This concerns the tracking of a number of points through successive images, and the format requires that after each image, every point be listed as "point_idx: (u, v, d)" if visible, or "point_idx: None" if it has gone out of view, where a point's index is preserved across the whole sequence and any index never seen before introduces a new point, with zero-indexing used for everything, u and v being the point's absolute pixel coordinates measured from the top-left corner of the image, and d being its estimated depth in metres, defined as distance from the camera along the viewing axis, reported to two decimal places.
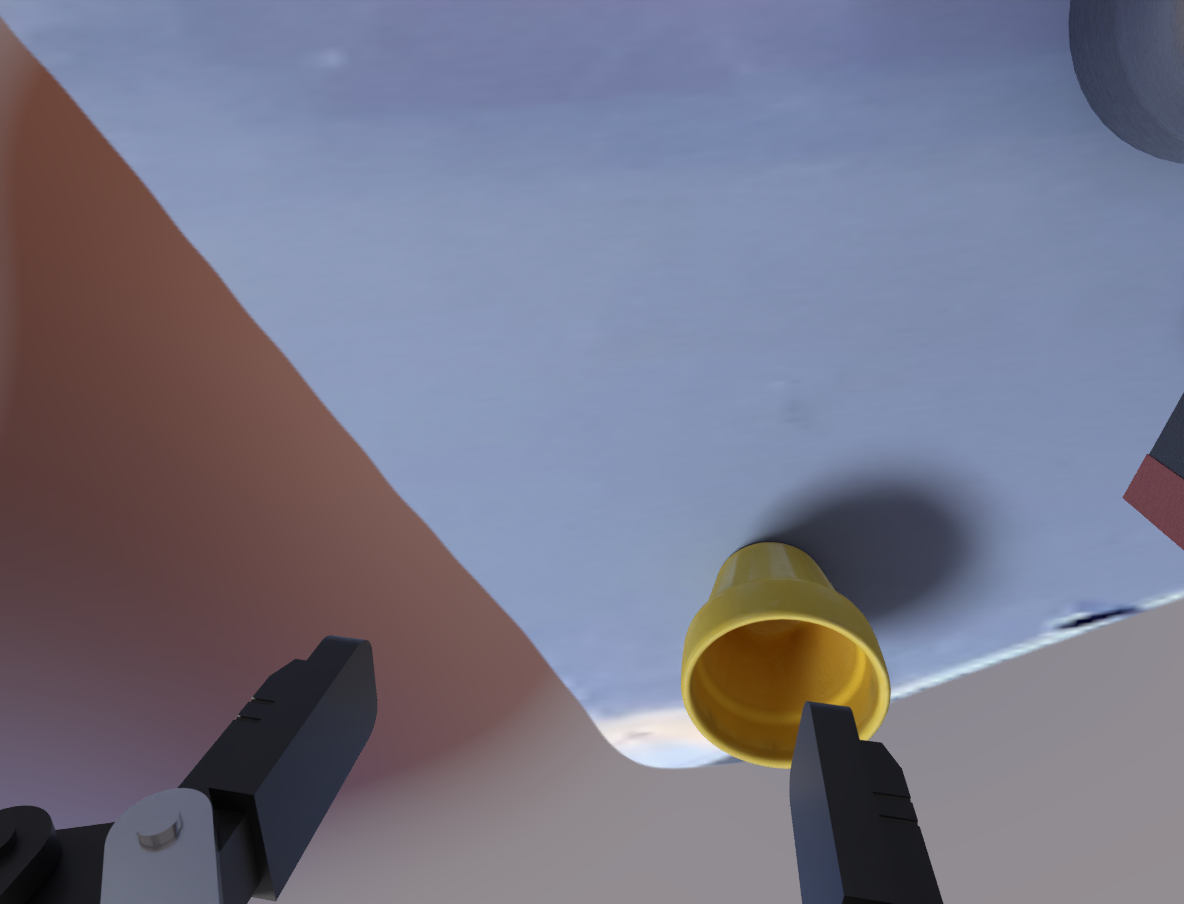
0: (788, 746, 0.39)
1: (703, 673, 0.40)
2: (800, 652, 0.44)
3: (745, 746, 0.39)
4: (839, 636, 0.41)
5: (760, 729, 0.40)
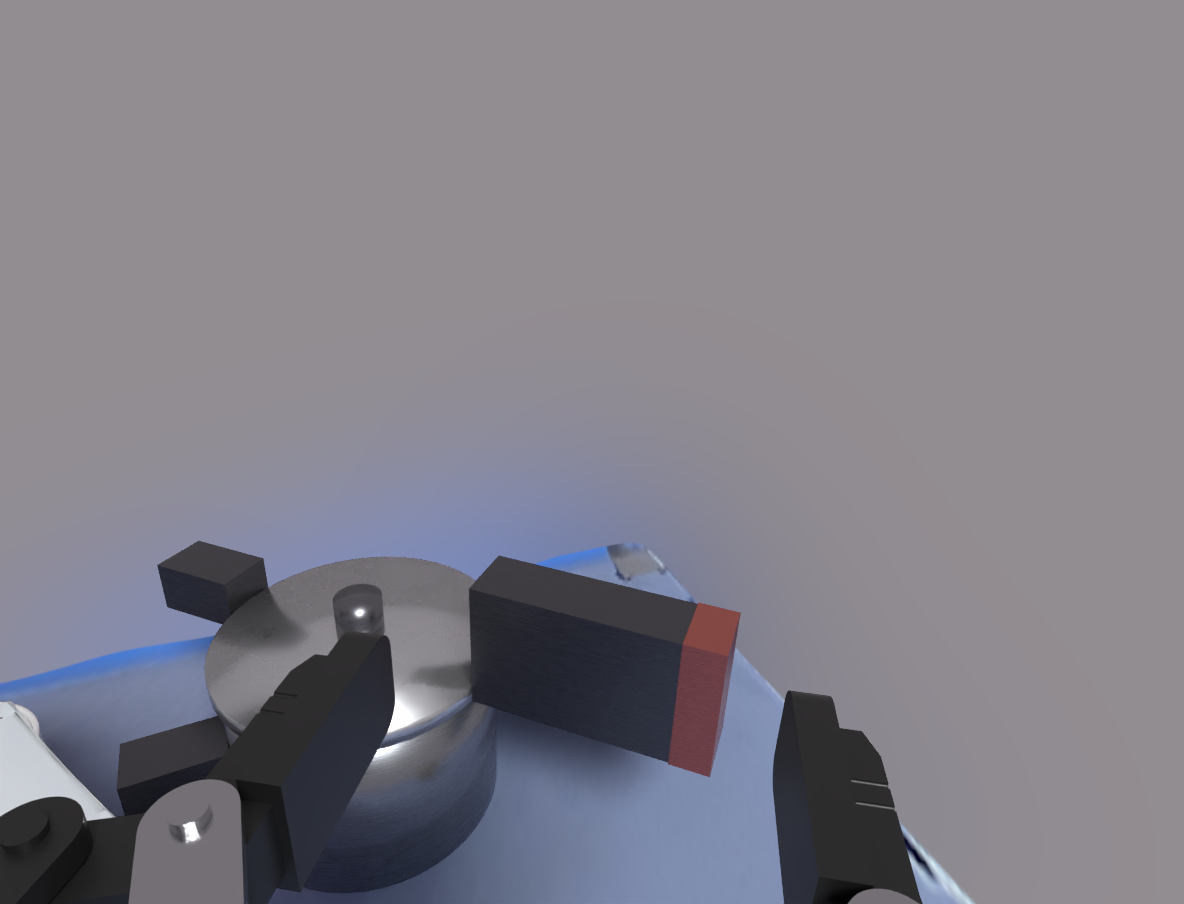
0: None
1: None
2: None
3: None
4: None
5: None
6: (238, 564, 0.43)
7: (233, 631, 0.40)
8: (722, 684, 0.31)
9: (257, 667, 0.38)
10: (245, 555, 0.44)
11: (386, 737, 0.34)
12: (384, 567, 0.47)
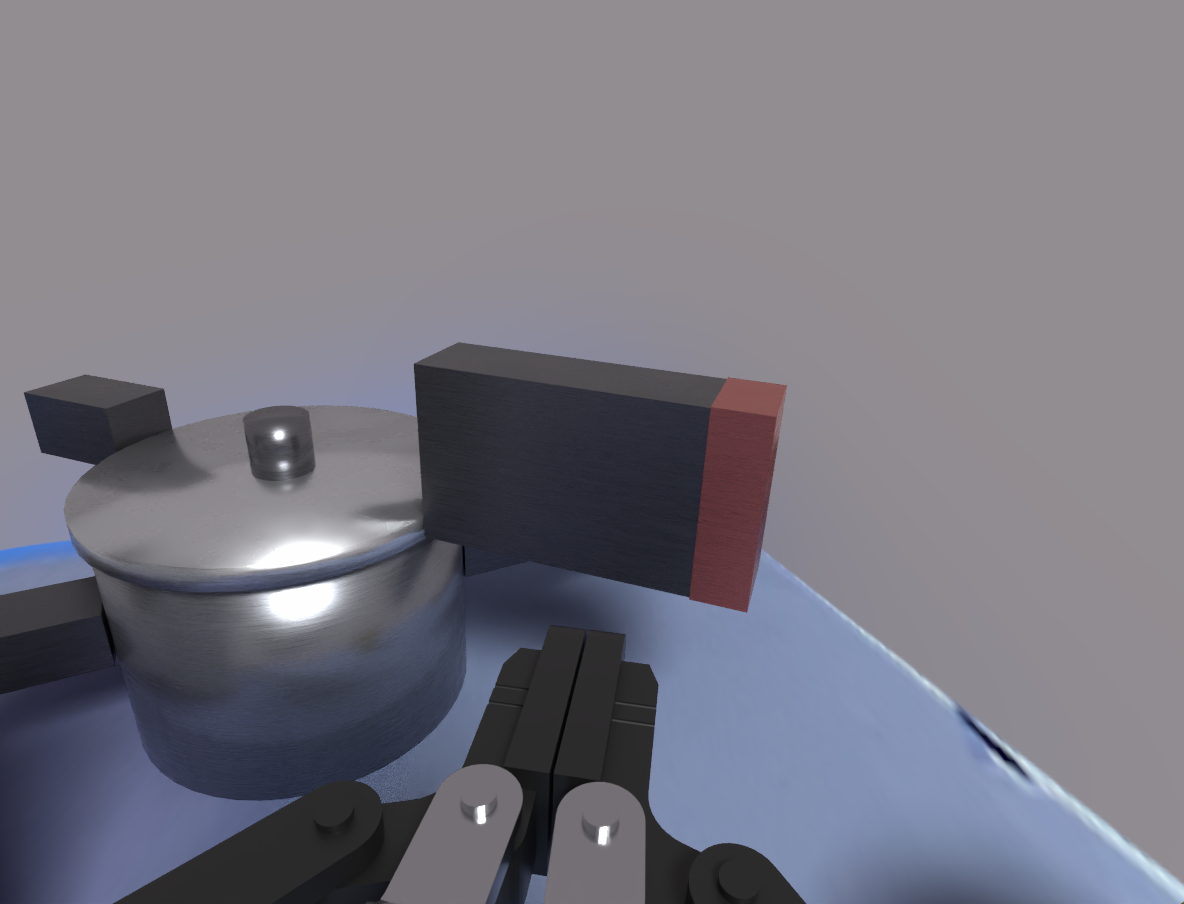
0: None
1: None
2: None
3: None
4: None
5: None
6: (130, 393, 0.33)
7: (115, 465, 0.31)
8: (767, 463, 0.22)
9: (138, 498, 0.28)
10: (141, 386, 0.34)
11: (301, 568, 0.25)
12: (324, 413, 0.37)
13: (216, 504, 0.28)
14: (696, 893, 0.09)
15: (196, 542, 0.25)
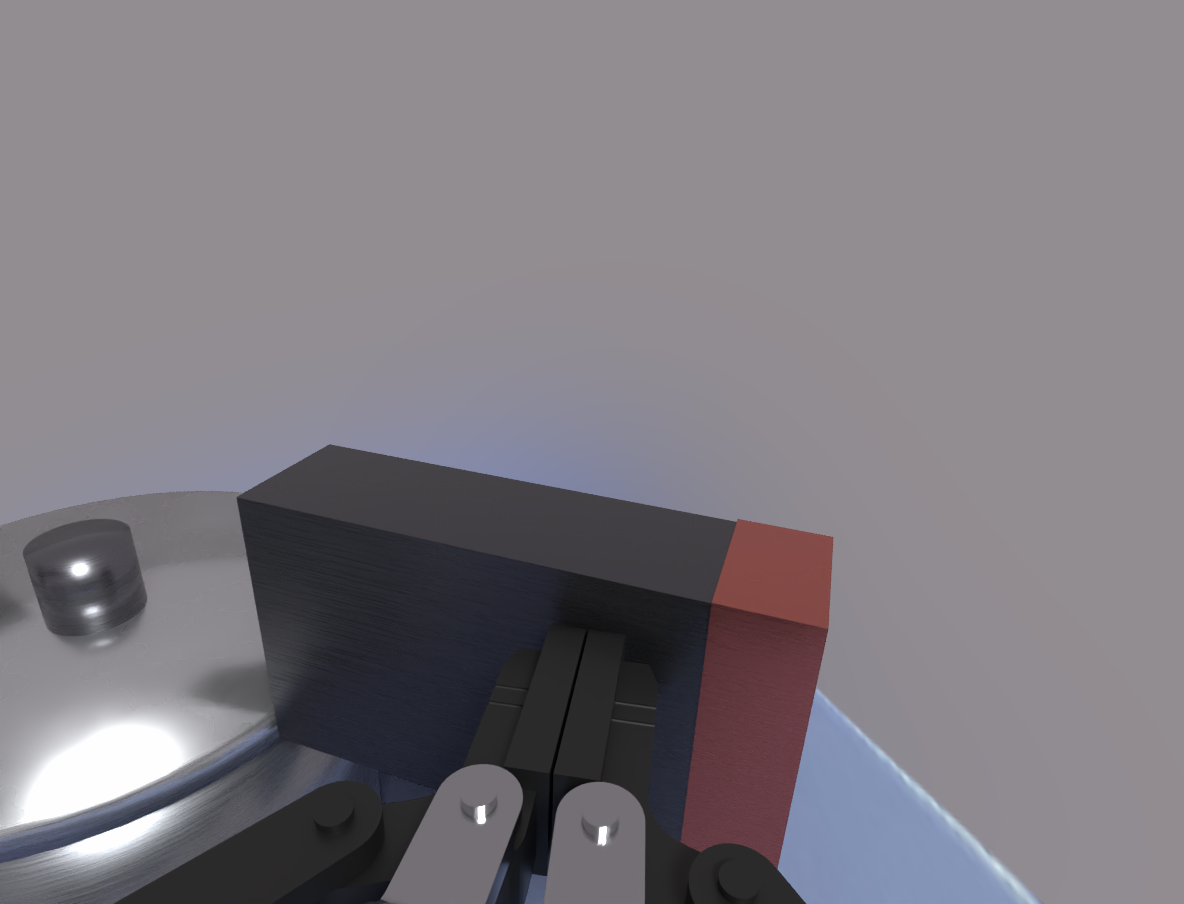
0: None
1: None
2: None
3: None
4: None
5: None
6: None
7: None
8: (809, 699, 0.13)
9: None
10: None
11: (54, 827, 0.16)
12: (191, 505, 0.28)
13: None
14: (696, 893, 0.09)
15: None
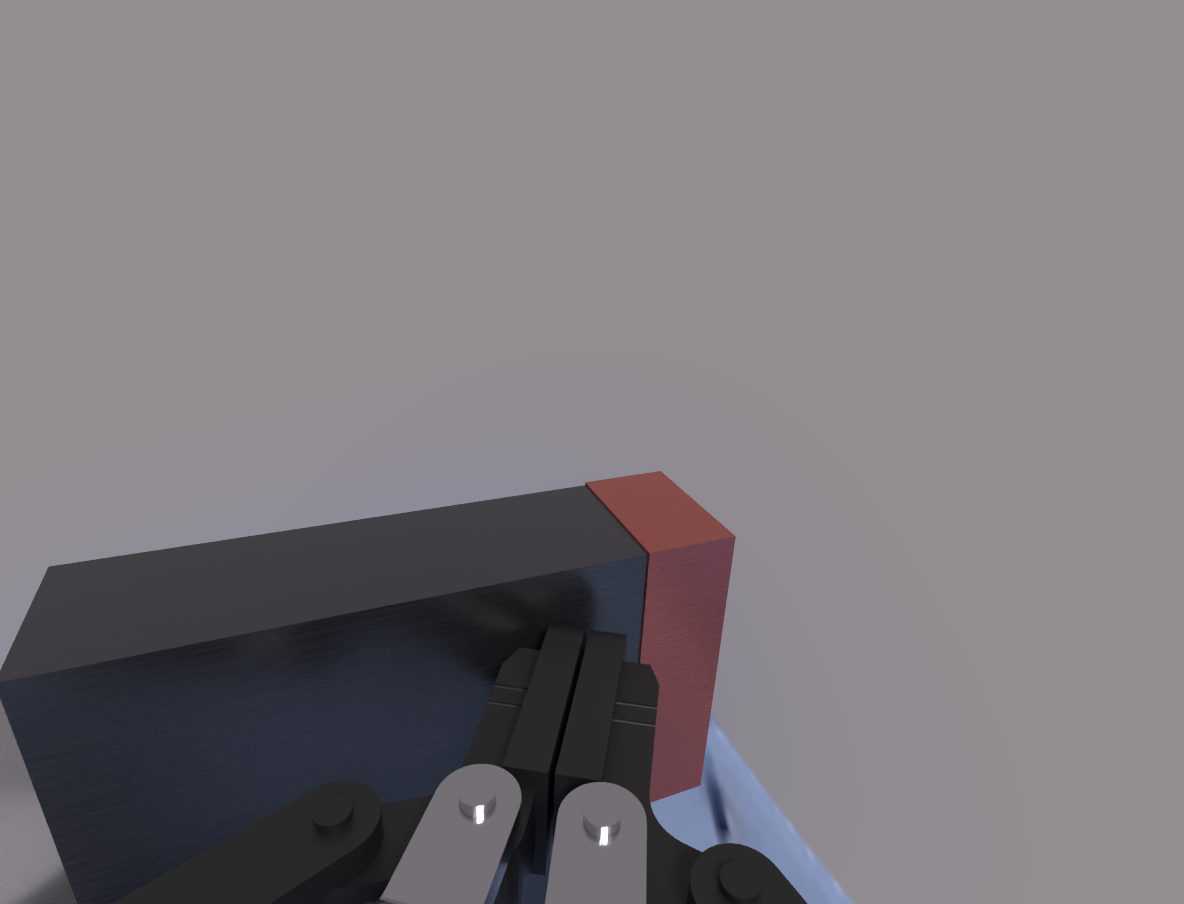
0: None
1: None
2: None
3: None
4: None
5: None
6: None
7: None
8: (724, 599, 0.15)
9: None
10: None
11: None
12: None
13: None
14: (698, 893, 0.09)
15: None
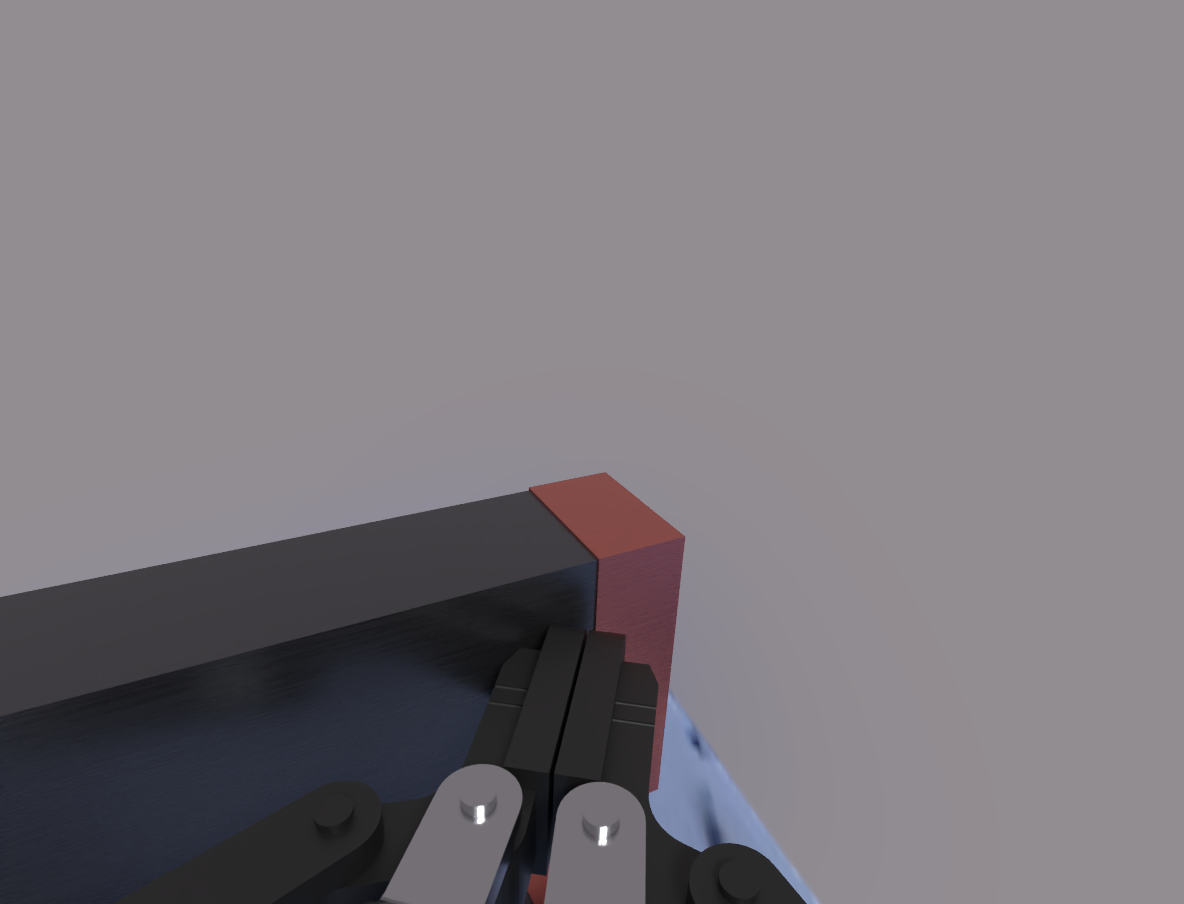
0: None
1: None
2: None
3: None
4: None
5: None
6: None
7: None
8: (675, 601, 0.15)
9: None
10: None
11: None
12: None
13: None
14: (696, 893, 0.09)
15: None
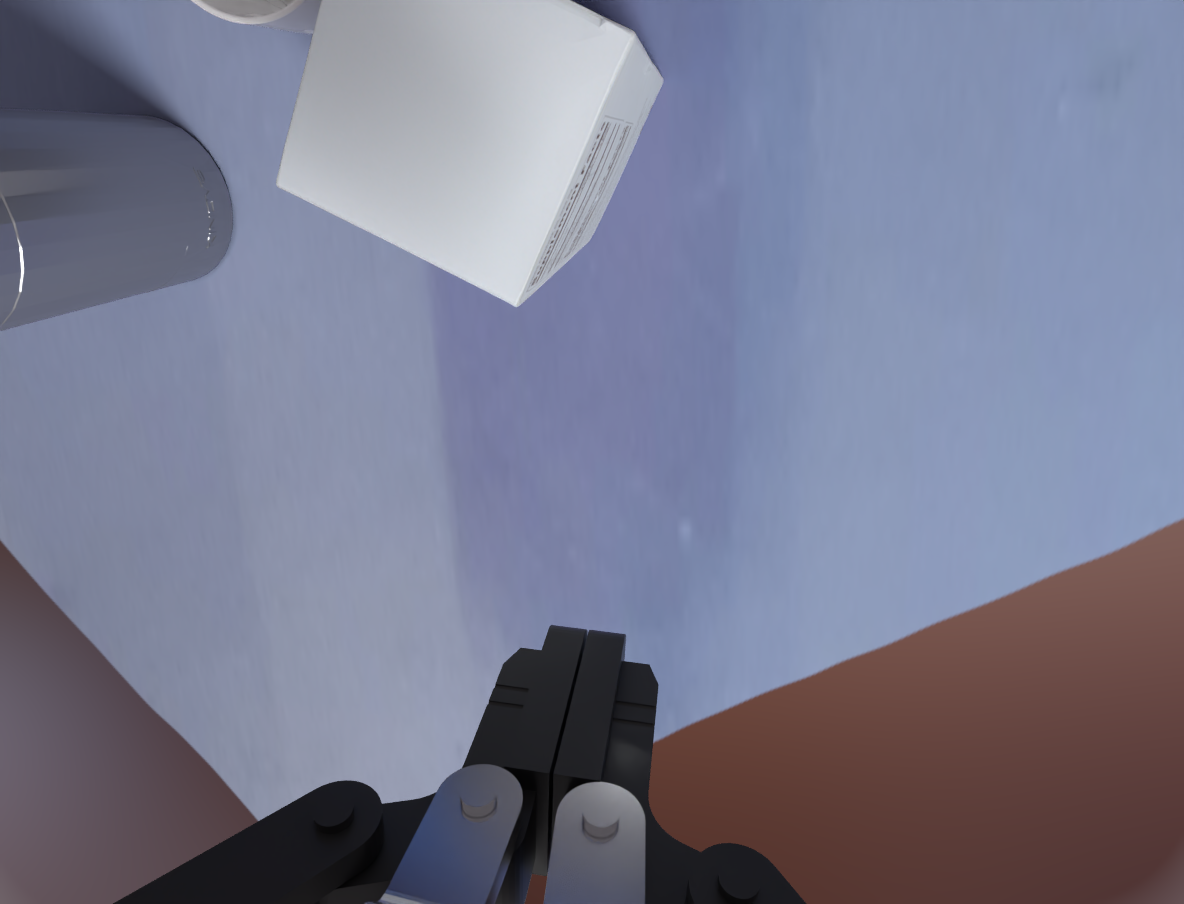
0: None
1: None
2: None
3: None
4: None
5: None
6: None
7: None
8: None
9: None
10: None
11: None
12: None
13: None
14: (696, 893, 0.09)
15: None
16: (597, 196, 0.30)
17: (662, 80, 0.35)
